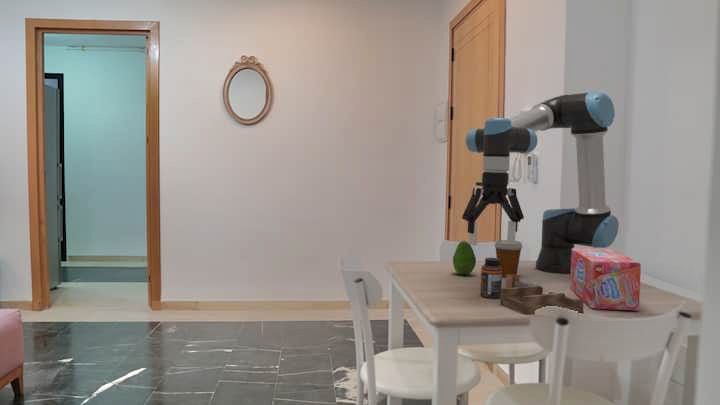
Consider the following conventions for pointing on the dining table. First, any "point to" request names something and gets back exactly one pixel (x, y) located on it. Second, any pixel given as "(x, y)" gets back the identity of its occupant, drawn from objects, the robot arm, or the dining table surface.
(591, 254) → the box
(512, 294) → the base
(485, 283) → the supplement bottle
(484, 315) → the dining table surface
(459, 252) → the avocado
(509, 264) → the disposable coffee cup
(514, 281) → the bar
